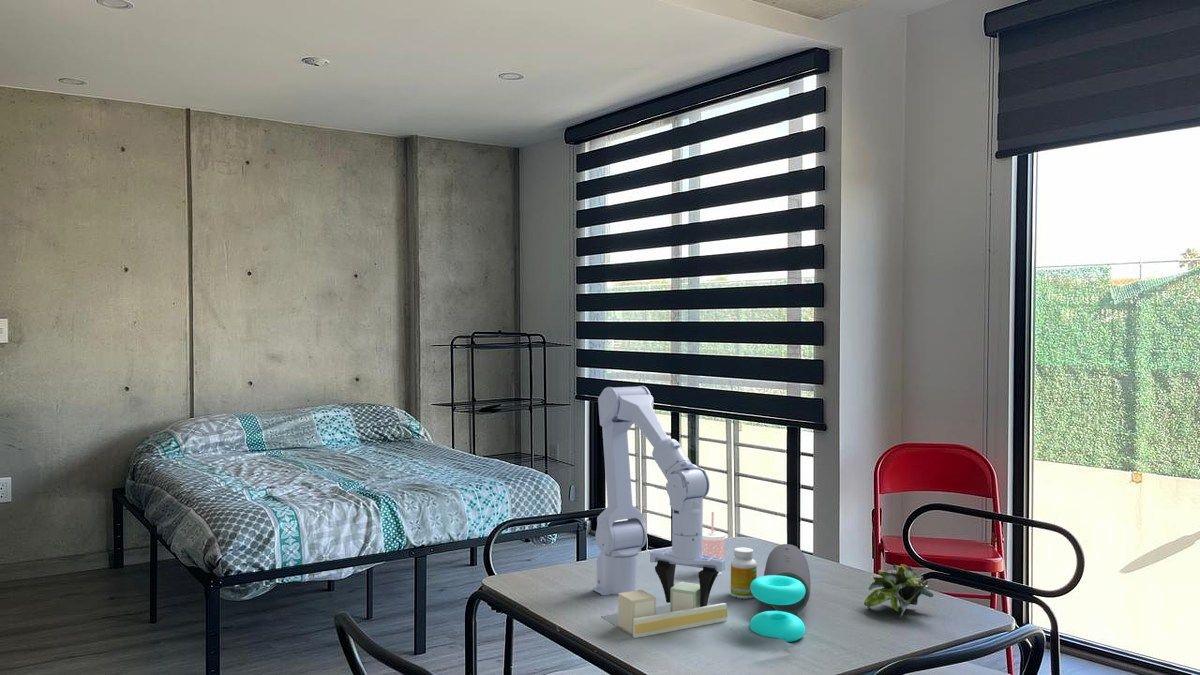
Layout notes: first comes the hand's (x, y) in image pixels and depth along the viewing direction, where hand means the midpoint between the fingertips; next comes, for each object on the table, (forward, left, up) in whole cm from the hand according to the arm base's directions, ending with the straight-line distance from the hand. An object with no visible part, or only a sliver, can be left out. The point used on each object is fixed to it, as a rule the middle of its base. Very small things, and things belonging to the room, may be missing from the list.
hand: (686, 603), depth 167 cm
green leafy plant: (+13, +42, -4) cm, 44 cm away
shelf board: (-2, -4, -4) cm, 6 cm away
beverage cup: (-27, +25, -4) cm, 37 cm away
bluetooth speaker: (-2, +26, -4) cm, 26 cm away
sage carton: (0, 0, -3) cm, 3 cm away
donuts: (+12, +12, -4) cm, 18 cm away
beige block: (0, -11, -3) cm, 11 cm away
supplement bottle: (-10, +21, -4) cm, 24 cm away
